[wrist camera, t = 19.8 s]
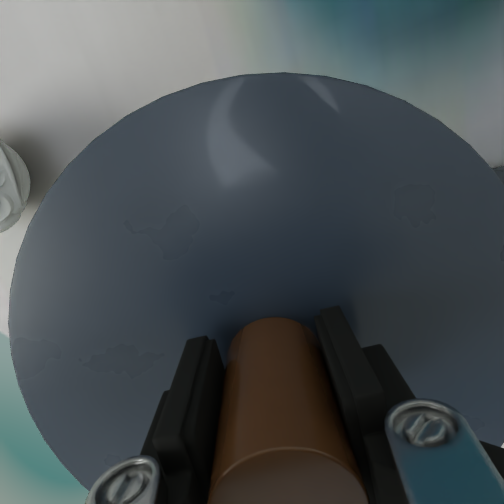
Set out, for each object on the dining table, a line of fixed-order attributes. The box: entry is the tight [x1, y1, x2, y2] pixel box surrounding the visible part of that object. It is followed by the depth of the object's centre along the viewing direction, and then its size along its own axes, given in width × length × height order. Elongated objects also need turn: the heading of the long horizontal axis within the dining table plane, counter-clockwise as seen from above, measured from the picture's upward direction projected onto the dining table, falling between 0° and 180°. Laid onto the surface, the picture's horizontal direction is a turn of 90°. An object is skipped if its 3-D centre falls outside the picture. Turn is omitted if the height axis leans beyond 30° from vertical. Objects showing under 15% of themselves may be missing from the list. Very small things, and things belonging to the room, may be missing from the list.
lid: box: [8, 72, 504, 504], centre depth 10 cm, size 16×16×6 cm
